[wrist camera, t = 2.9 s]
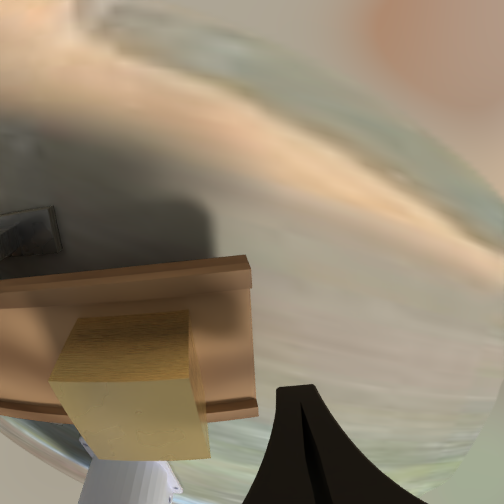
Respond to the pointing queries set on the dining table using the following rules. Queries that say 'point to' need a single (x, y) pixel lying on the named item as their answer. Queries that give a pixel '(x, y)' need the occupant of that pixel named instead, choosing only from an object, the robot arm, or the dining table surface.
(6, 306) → the beam
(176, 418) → the block
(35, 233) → the stand
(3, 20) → the dining table surface
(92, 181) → the dining table surface
